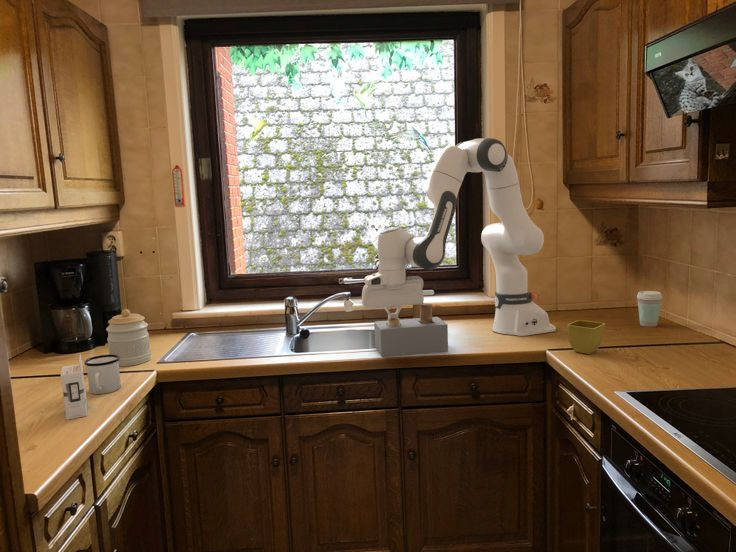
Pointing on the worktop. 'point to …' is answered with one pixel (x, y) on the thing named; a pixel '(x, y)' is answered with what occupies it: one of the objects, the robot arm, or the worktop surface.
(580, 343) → the flower pot
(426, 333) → the socket block
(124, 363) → the jar
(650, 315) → the coffee cup
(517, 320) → the robot arm
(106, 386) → the mug
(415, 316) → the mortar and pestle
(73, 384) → the ink box
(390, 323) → the beech dowel
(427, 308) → the walnut dowel
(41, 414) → the worktop surface
